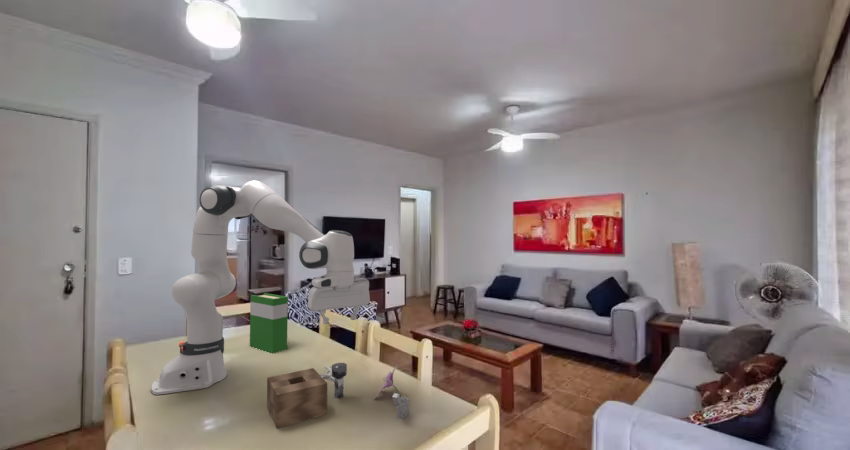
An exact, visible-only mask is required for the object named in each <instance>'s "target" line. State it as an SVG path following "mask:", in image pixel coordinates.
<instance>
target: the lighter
mask: <svg viewBox="0 0 850 450" xmlns="http://www.w3.org/2000/svg"><path fill="white" fill-rule="evenodd" d="M400 395H401V393H400V394H399V393H398V392H397V393H396V392H394V393H393V394H392V396H391V397H392V398H391V399H392V402H393V404H394V408H396V409H397V414H396V415H397V416H396V417H397V420H402V421H403V420H404V418H406V417H407V416H408V415H409V414H410V398H408V397H407V396H404V395H403V396H400Z"/></svg>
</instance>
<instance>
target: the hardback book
mask: <svg viewBox="0 0 850 450" xmlns="http://www.w3.org/2000/svg"><path fill="white" fill-rule="evenodd" d="M288 301H289V296H284V295H279V294H272V293H267V292H264V293H263V294H262V295H253V294H250V308H249V310H250V312H249V313H250V319H249V347H250V346H251V347H250V348H252V347H254V348H253V349H255V348H257V349H256V350H259V349H260V350H259V351H262V350H263V352H265V351H266V353H268V352H269V354H271V353H272V354H271V355H273V353H274V354H277V353H280V352H283V351H286V350H287V349H288V317H289V316H288V311H289V310H288V307H289V305H288V303H289V302H288ZM282 350H283V351H282ZM279 351H280V352H279ZM276 352H277V353H276Z"/></svg>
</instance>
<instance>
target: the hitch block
mask: <svg viewBox="0 0 850 450" xmlns="http://www.w3.org/2000/svg"><path fill="white" fill-rule="evenodd" d="M319 374H320V373H319V372H318V371H317V370H315V368H314V367H313V368H312V367H311V368H307V369H302V370H298V371H294V372H287V373H283V374H279V375H273V376H269V377H268V376H267V379H266V380H267V390H266V391H267V392H266V408H267V410H268V412H269V415H270V417H271V418H272V419H271V420H272V421H273V424H274V426H275V428H276V429H278V428H279V429H280V428H283V427H286V426H290V425H293V424H297V423H300V422H303V421H308V420H311V419H313V418H317V417H321V416H325V415H327V414H328V382H327V380H326V379H325V378H322V377H321V376H320V375H319Z"/></svg>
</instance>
